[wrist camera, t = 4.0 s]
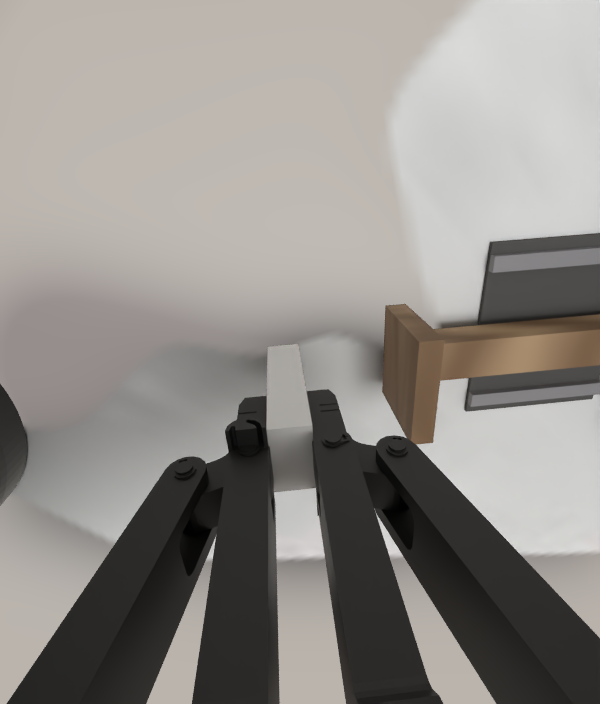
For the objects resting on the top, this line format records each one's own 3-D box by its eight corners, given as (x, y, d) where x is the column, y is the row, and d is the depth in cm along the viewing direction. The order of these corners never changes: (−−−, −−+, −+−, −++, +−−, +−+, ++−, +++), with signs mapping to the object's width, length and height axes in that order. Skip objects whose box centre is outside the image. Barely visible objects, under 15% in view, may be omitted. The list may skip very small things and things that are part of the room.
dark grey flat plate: (464, 409, 23) (466, 411, 22) (490, 242, 18) (492, 242, 18) (589, 397, 23) (592, 398, 23) (644, 229, 19) (647, 230, 18)
